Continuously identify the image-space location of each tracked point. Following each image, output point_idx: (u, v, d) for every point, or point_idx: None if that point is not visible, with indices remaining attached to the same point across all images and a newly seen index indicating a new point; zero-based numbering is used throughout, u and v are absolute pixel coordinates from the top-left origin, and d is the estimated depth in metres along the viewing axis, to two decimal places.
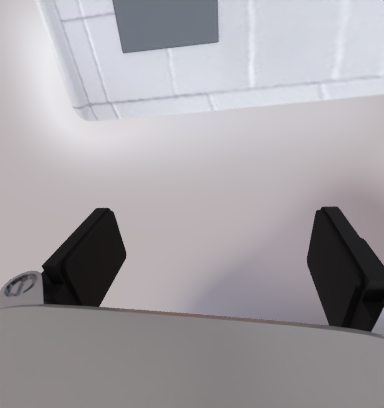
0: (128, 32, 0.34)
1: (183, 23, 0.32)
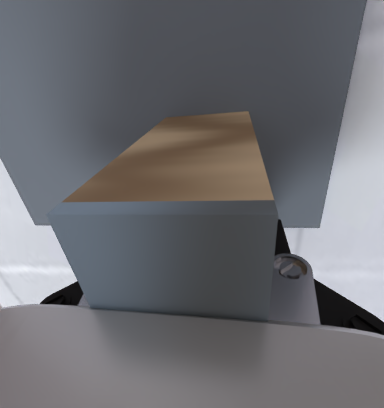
0: None
1: (39, 154, 0.13)
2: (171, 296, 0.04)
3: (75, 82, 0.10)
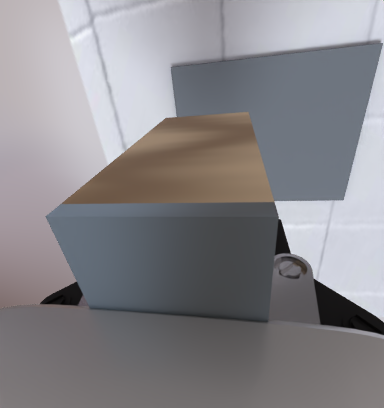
0: (196, 80, 0.22)
1: None
2: (171, 298, 0.04)
3: None
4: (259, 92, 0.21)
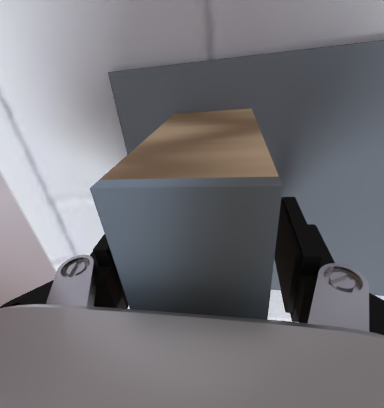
0: (160, 98, 0.11)
1: None
2: (190, 260, 0.05)
3: None
4: (281, 122, 0.11)
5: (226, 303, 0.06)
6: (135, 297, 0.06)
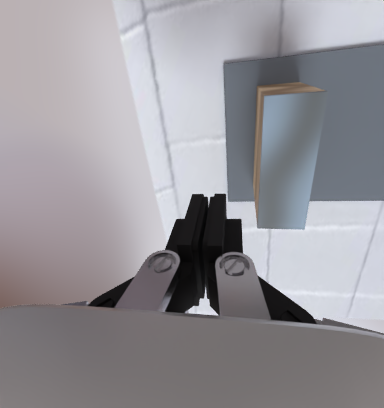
0: (250, 77, 0.21)
1: (250, 163, 0.25)
2: (292, 124, 0.15)
3: None
4: None
5: (302, 145, 0.16)
6: (265, 147, 0.16)
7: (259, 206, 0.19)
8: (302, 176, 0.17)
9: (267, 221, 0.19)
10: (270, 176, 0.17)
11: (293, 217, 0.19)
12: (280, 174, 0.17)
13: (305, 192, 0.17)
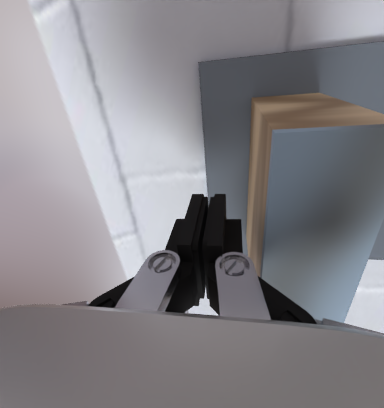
0: (240, 84, 0.13)
1: (242, 207, 0.17)
2: (331, 189, 0.07)
3: None
4: None
5: (347, 225, 0.08)
6: (274, 225, 0.08)
7: None
8: (341, 274, 0.09)
9: None
10: (281, 271, 0.09)
11: None
12: (299, 268, 0.09)
13: (343, 297, 0.10)
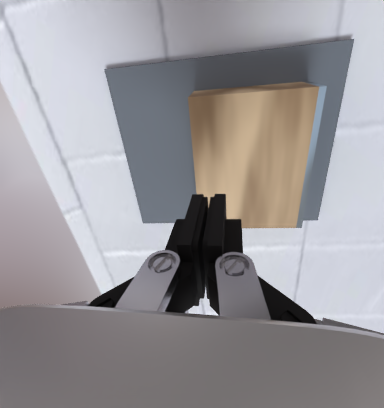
0: (137, 85, 0.18)
1: (158, 182, 0.22)
2: None
3: (190, 146, 0.20)
4: None
5: None
6: (315, 140, 0.15)
7: (304, 204, 0.18)
8: None
9: None
10: None
11: None
12: None
13: None
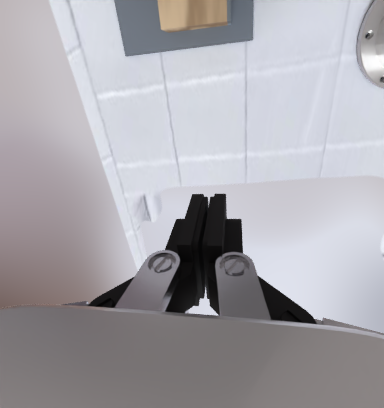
0: None
1: (135, 11, 0.30)
2: None
3: None
4: None
5: None
6: None
7: None
8: None
9: None
10: None
11: None
12: None
13: None
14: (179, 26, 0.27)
